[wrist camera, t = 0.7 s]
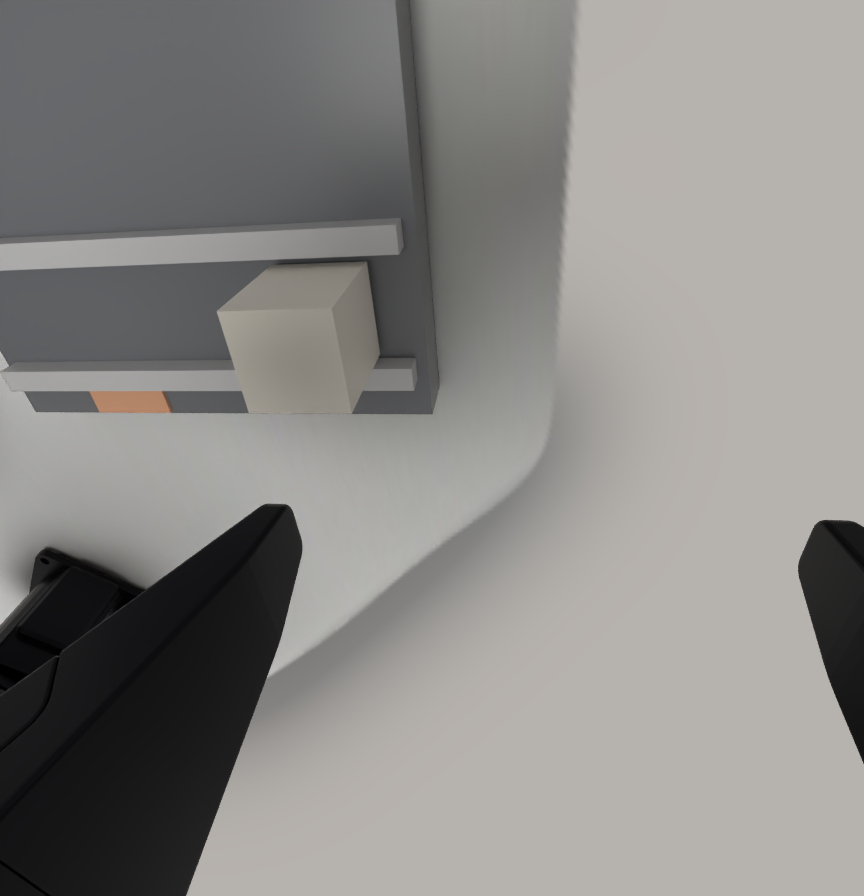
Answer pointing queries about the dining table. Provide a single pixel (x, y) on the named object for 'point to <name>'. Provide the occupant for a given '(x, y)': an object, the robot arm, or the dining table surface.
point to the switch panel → (202, 191)
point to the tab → (303, 338)
